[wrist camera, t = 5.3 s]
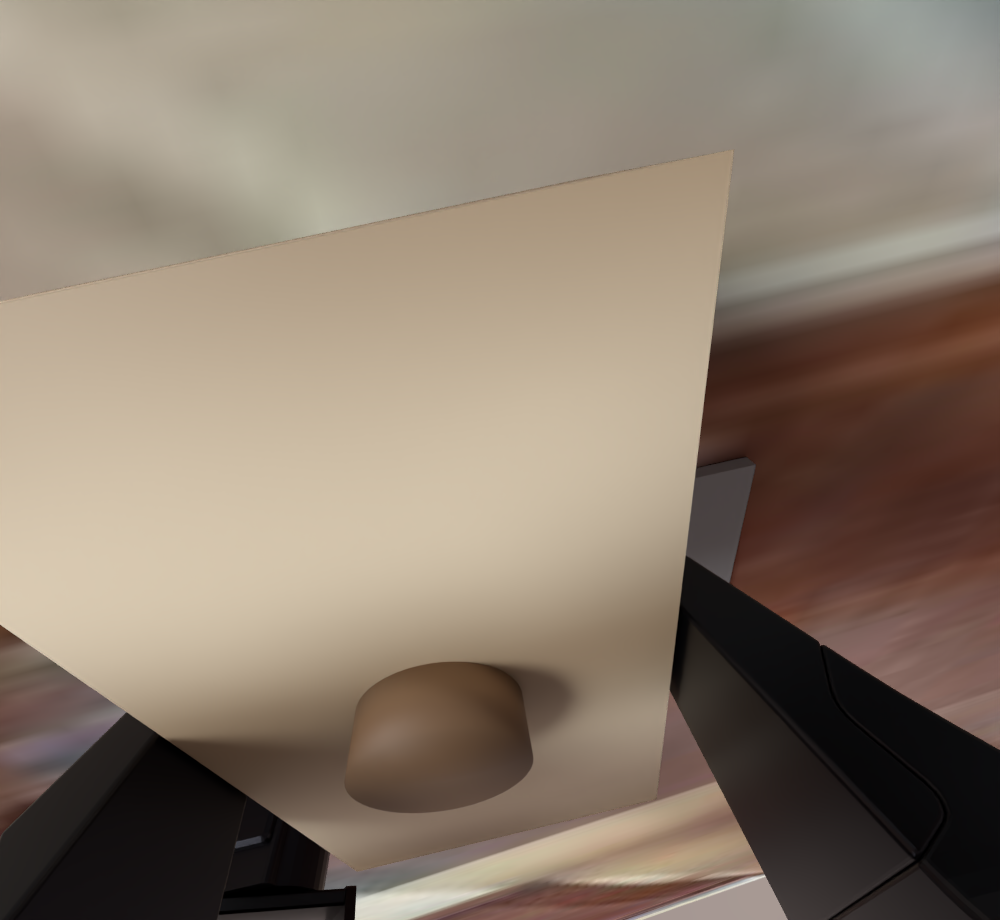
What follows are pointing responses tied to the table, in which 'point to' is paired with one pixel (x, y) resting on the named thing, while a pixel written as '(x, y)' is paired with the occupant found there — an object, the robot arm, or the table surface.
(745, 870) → the table surface
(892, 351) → the table surface
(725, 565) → the mat
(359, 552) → the lid
